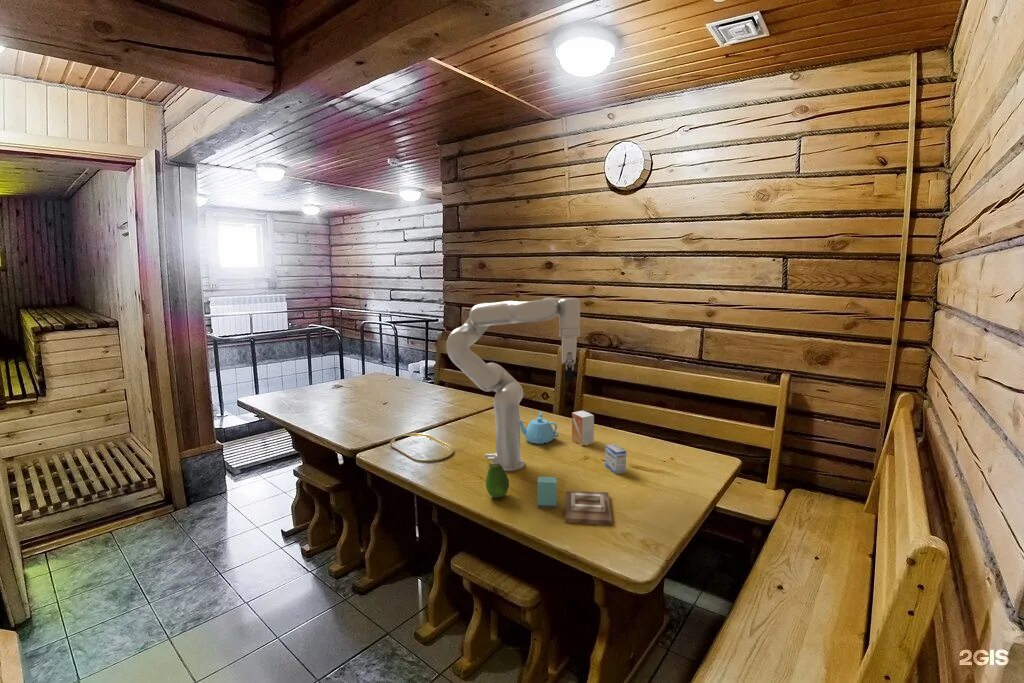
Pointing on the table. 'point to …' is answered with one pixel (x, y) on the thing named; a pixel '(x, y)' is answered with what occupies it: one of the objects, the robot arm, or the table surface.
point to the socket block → (588, 508)
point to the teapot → (539, 430)
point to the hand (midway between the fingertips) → (569, 377)
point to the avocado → (497, 481)
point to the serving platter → (429, 438)
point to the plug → (547, 492)
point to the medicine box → (615, 459)
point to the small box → (582, 427)
